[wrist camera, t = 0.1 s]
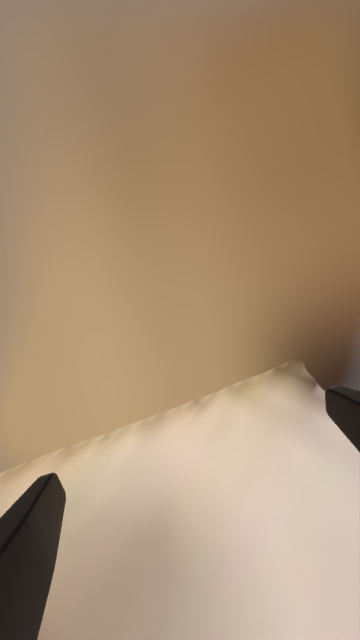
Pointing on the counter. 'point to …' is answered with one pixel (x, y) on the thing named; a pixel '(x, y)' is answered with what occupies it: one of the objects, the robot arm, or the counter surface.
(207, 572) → the counter surface
